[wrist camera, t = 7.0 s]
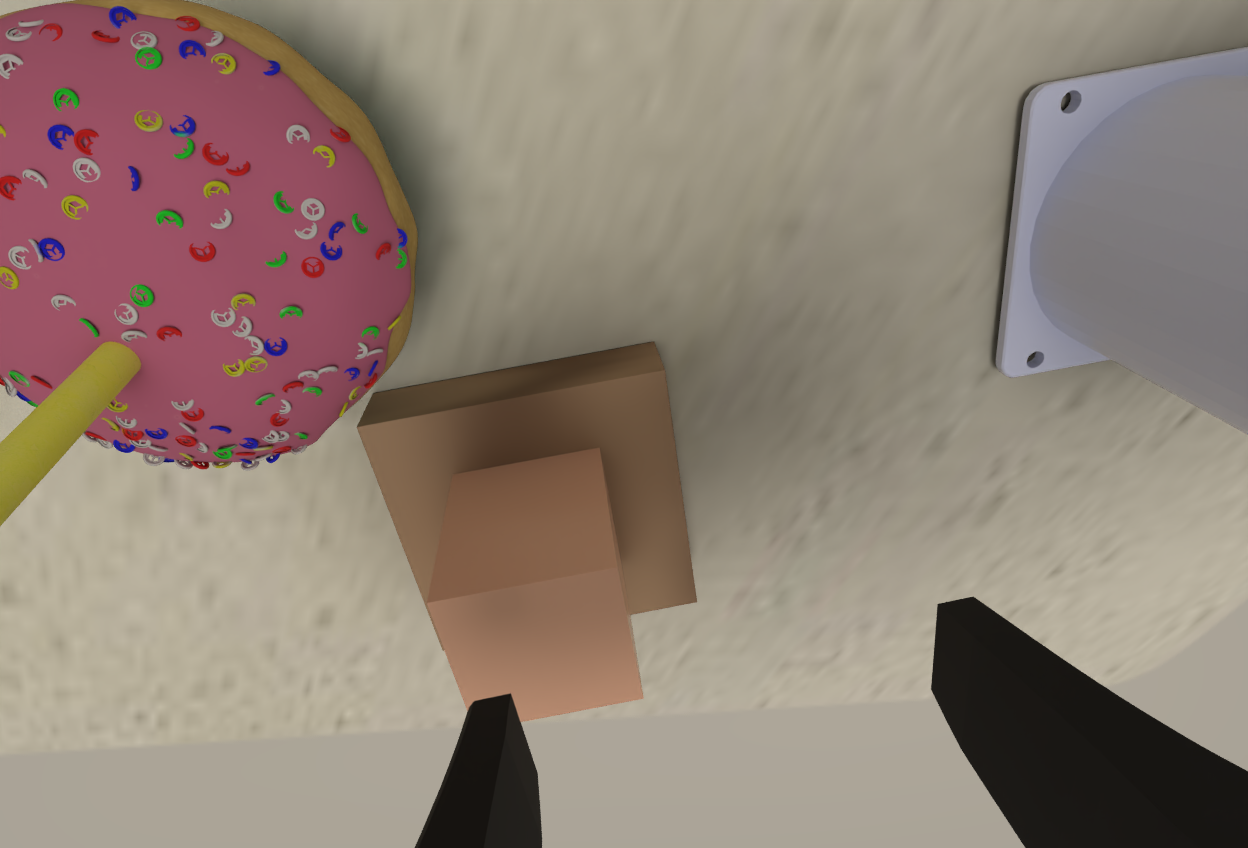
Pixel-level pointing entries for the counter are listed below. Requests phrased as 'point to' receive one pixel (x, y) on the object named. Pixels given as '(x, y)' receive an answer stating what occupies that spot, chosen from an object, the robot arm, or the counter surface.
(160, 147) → the cupcake
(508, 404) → the base
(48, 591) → the counter surface
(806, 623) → the counter surface
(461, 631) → the block
